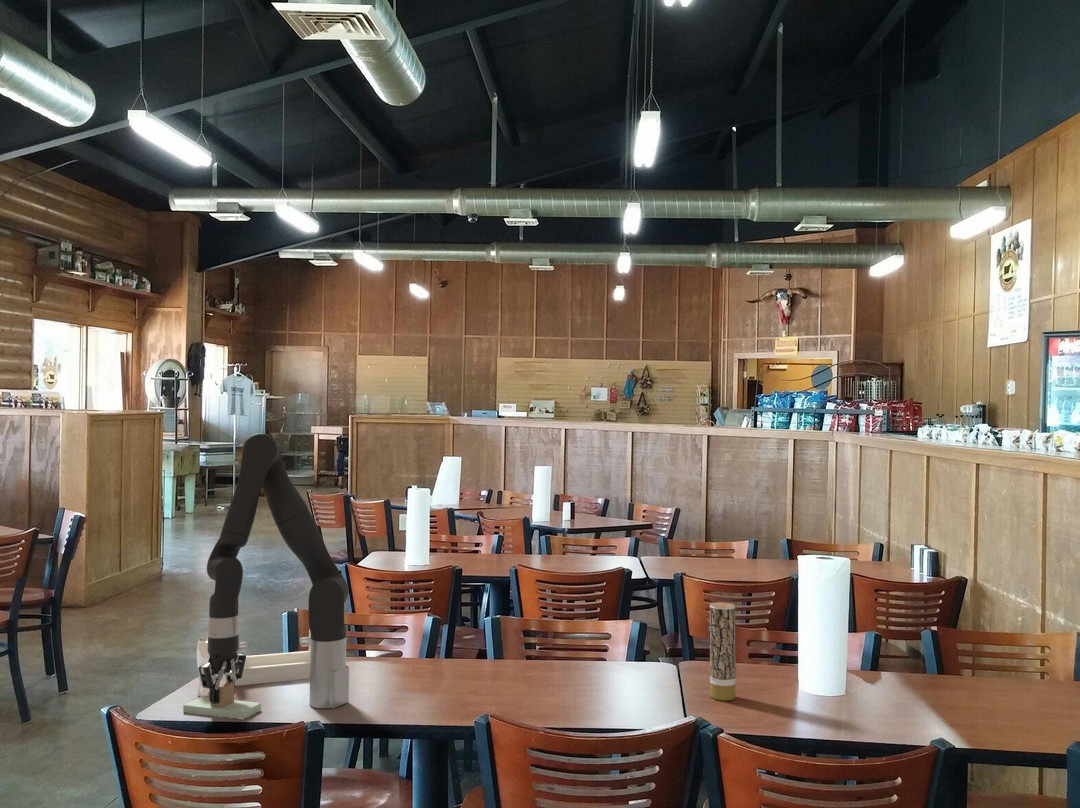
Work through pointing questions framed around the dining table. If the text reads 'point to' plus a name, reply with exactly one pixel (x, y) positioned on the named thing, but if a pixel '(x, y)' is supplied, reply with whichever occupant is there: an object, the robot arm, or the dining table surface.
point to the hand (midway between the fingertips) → (222, 700)
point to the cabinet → (275, 665)
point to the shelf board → (220, 711)
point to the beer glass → (203, 663)
